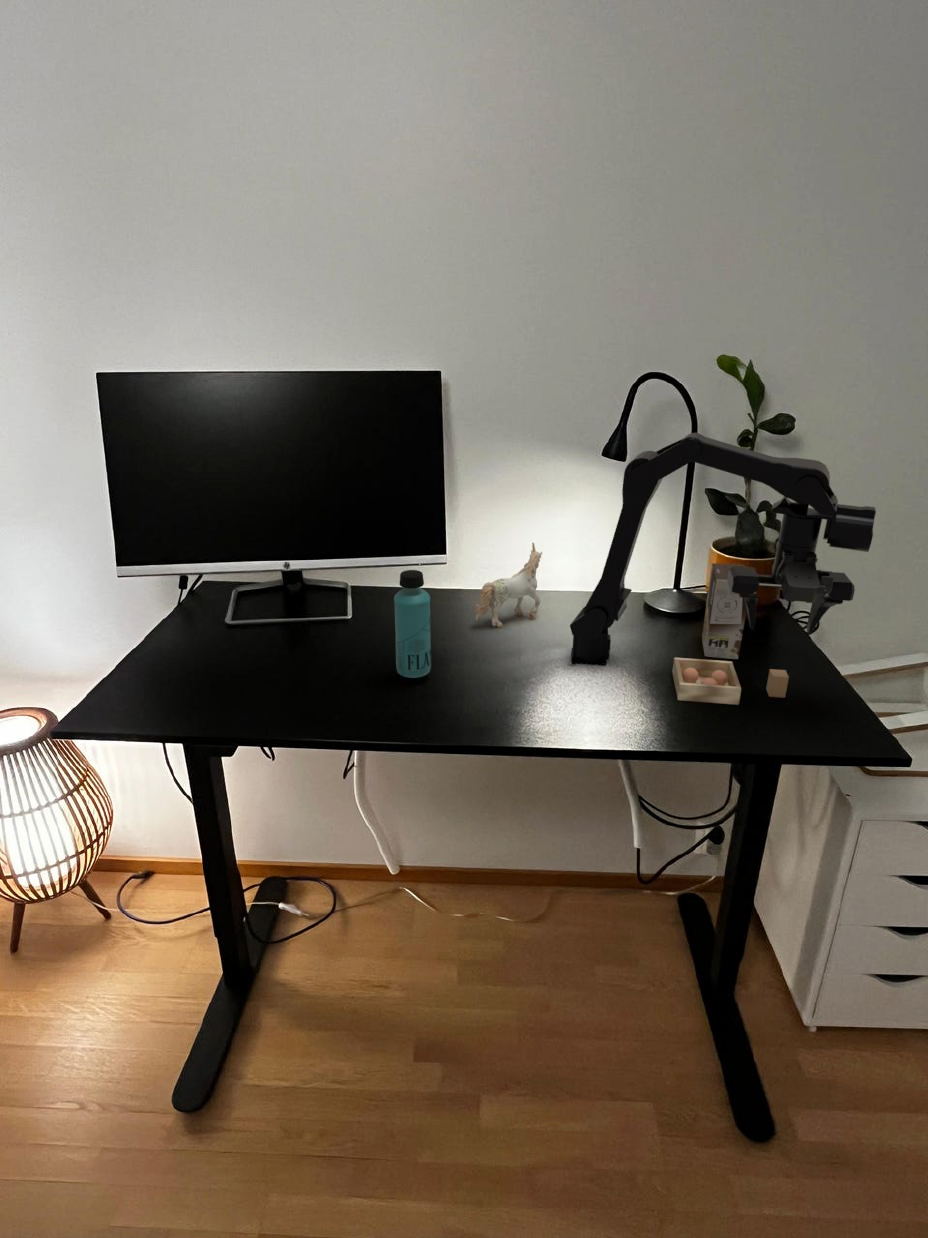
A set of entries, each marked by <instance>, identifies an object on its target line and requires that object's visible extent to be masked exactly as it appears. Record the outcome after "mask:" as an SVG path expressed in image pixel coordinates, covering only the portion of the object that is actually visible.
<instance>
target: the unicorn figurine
mask: <svg viewBox="0 0 928 1238" xmlns="http://www.w3.org/2000/svg"><path fill="white" fill-rule="evenodd" d="M531 544H532V546H531V547H532V549H531V550H530V555H529V559H528V561H527V562H526V563H525V564H524V565H523V568H522V569H520V571H518V572H517V573H515V574H514V575H512V576H511V577H509V578H508V577H507V578H505V577H503V578H502V577H501V578H497V579H495V580H494V581H492V582H491V581H490V582H489V581H488V582H486V583H484V584H483V586H482V587H481V592H480V594H479V602H478V604H476V607H477V608H476V609H475V611H474V612H475V613H476V614H475V621H478V620H479V619H480V618H481V617H484V616H485V615H486V613H487V612H488V609H489V608H491V610H490V613H491V614H492V618H491V624H492V626H493V627H497V628H499V629H501V628H503V626H504V624H503V623H502V622H501V621H500V620H499V611H500V609H501V608H502V607H503V606H504V603H506V601H507V600H508V599H517V604H516V606H515V608H514V609H513V610H514V611H513V613H514V614H513V615H514V616H517V615H518V616H520V617H521V616H523V615H524V612H523V610H522V609H521V604H522V601H523V600H524V599H523V598H524V597H525V596H529V597H530V598H531V599H533V600H534V605H533V606H532V607H531V608H530V609H529V613H528V617H529V619H530V620H534V619H535V617H536V615H537V613H538V611H539V606H540V603H541V598H540V596H539V595H538V594H537V591H536V590H537V588H538V581H537V575H536V574H537V569H538V568H539V565H540V564H539V563H540V562H541V558H542V554H543V551H541V552H539V551H536V547H535V542H532V543H531ZM495 602H496V603H495Z"/></svg>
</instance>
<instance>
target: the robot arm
mask: <svg viewBox="0 0 928 1238" xmlns="http://www.w3.org/2000/svg"><path fill="white" fill-rule="evenodd" d="M691 463H696V464H699V465H703V466H705V467H709V468H713V469H716V470H719V471H722V472H726V473H728V474H732V475H735V476H740V477H742V478H746V479H748V480H752V481H754V482H759V483H762V484H764V485H766V486H767V487H770V488H771V489H772V490H775V492H776V493H778V494H779V495H781V496H782V498H781V499H779V500H778V501H776V502H775V503H773V505H772V507H771V510H770V511H771V513H773V514H777V515H778V514H779V515H782V519H781V524H780V530H779V536H778V540H777V541H776V544H775V547H776V552H775V557H774V562H773V564H772V566H771V571H772V572H771V574H759V573H757V570H756V568H755V567H754V566H746V567H743V566H733V567H731V568H730V569H729V571H728V577H727V582H728V584H729V586H730V589H731V591H732V592H734V593H738V596H739V597H741V598H744V600H745V604H746V609H747V611H746V615H747V618H748V624H749V627H750V629H751V630H754V627H755V624H756V615H757V602H758V599H759V595H758V593H757V591H759V587H763V588H764V587H765V588H766V587H767V588H777V589H778V588H781V591H782V592H781V593H782V598H783V599H784V600H785V601H787V602H790V603H793V602H801V603H802V602H803V603H806V604H811V606H810V611H809V616H808V620H807V626H806V632H807V633H808V634H812V633H813V631H814V630H815V628H816V626H817V625H818V624H819V622H820V621H821V619H822V618H823V616H824V615H825V614H826V613H827V612H828V610H829V609H830V608H831V607H834V606H836V605H842V604H843V603H844V601H847V602H850V601H853V599H854V595H855V590H856V589H855V587H856V586H855V585H854V584H853V582H852V581H851V580H850V578H849V577H848V576H847V574H846V573H845V572H837V571H835V572H834V571H830V570H822V569H817V565H816V564H817V563H816V562H817V552H816V550H817V547H818V546H817V544H818V540H819V537H820V536H819V535H820V531H821V526H822V523H823V520H825V526H824V531H823V535H822V536H823V537H822V540H824V541H826V544H829V545H828V547H830V548H834V549H842V550H851V551H858V552H865V553H869V552H870V548H871V546H872V545H871V544H872V540H873V538H874V537H873V536H874V530H873V529H874V524H875V517H876V513H877V508H876V507H875V506H868V505H866V506H865V505H864V506H858V505H857V506H856V505H849V504H841V503H840V504H839V500H838V498H837V495H835V492H834V491H833V489H832V488H831V486H830V483H831V474H830V471H829V469H828V467H827V465H826V464H824V463H823V462H822V461H819V460H816V459H808V458H799V457H777V456H772V455H768V454H765V453H761V452H758V451H755V450H751V449H747V448H744V447H740V446H737V445H734V444H731V443H727V442H725V441H724V442H723V441H720V440H717V439H713V438H710V437H707V436H705V435H703V434H702V433H699V432H692V433H689V434H687V435H685V436H684V437H683V438H681V439H679V440H677V441H675V442H673V443H670V444H668V445H666V446H664V447H662V448H661V449H659V450H657V451H655V450H653V451H652V450H647V451H642V452H641V453H638V454H637V455H636V456H635V457H634V458H633V459H632V460H631V461H629V463H628V464H627V465H626V467H625V469H624V473H623V480H622V489H621V492H622V494H621V495H622V498H621V499H622V507H621V510H620V514H619V516H618V520H617V524H616V527H615V530H614V534H613V538H612V539H611V540H612V541H611V544H610V547H609V551H608V553H607V558H606V560H605V563H604V567H603V571H602V574H601V577H600V579H599V580H598V583H597V584H596V586H595V588H594V590H593V592H592V593H591V595H590V597H589V598H588V601H587V603H586V605H585V606H583V608H582V609H581V610H580V612H578V614H577V615H576V617H575V618H574V619H573V621H571V623H570V625H569V628H570V631H571V635H572V646H571V650H570V653H571V655H570V664H571V665H572V666H575V665H589V666H607V663H608V662H607V661H609V660H610V652H611V643H612V638H611V637H612V636H611V634H610V633H609V629H610V628H611V627H612V626H613V624H614V623H615V621H616V622H618V621H619V620H620V618H621V617H622V615H623V614H624V612H625V611H626V609H627V608H628V607H627V601H628V598H629V596H630V595H631V592H632V589H631V588H628V587H625V580H626V576H627V575H626V574H627V571H628V569H629V565H630V563H631V558H632V556H633V552H634V549H635V547H636V543H637V540H638V536H639V533H640V530H641V527H642V524H643V520H644V518H645V514H646V511H647V508H648V506H649V505H650V503H651V502H652V499H653V498H654V496H655V494H656V492H657V490H659V486H660V485H661V484H662V481H663V480H664V478H666V477H667V476H669V475H670V474H672V473H674V472H675V471H678V470H680V469H681V468H683V467H684V466H686V465H688V464H691ZM791 500H792V501H791ZM809 506H810V507H809ZM811 507H812V508H811Z"/></svg>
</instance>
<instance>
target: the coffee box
mask: <svg viewBox="0 0 928 1238" xmlns="http://www.w3.org/2000/svg"><path fill="white" fill-rule="evenodd" d="M733 566H743V567H747V566H746V565H745V564H735V563H733V564H732V563H714V562H713V563H711V569H710V575H709V582H708V587H707V588H708V590H707V591H708V592H707V597H706V604H705V605H706V606H705V612H704V619H703V627H702V633H701V641H702V648H703V654H704V657H710V658H719V659H731V660H739V656H740V651H741V645H742V640H743V634H744V633H743V632H744V627H745V621H746V616H747V609H746V604H745V600H744V598H741V597H739V596H738V593H734V592H732V591H731V589H730V586H729V584H728V582H727V577H728V571H729V569H730V568H731V567H733Z"/></svg>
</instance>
